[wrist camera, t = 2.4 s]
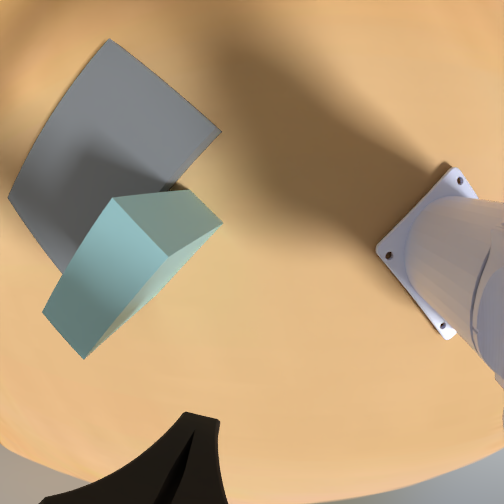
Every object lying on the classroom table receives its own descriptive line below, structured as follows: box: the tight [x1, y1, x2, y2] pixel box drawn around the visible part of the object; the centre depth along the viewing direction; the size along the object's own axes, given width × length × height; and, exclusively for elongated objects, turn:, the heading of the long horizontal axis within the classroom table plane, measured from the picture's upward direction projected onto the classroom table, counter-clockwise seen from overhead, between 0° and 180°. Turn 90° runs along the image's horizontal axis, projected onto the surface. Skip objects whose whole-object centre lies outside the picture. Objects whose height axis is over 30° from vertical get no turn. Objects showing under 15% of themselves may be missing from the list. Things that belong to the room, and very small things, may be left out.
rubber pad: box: [8, 39, 222, 274], centre depth 18 cm, size 11×15×2 cm
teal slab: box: [42, 190, 223, 359], centre depth 15 cm, size 3×7×9 cm, turn 135°
